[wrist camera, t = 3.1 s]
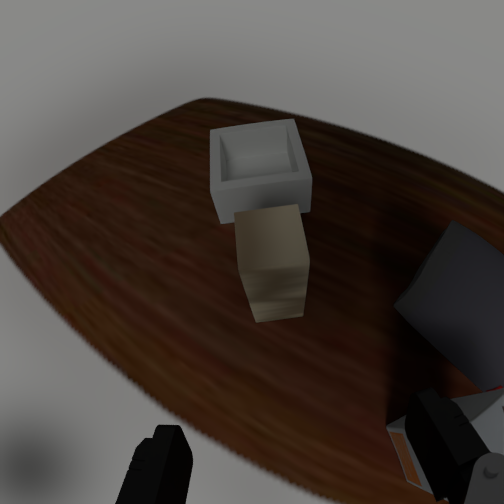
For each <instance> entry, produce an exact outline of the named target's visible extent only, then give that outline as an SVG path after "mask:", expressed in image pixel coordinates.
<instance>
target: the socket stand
mask: <svg viewBox="0 0 504 504" xmlns="http://www.w3.org/2000/svg"><path fill="white" fill-rule="evenodd" d="M210 192H211V195H212V199H213V202H214V205H215V208H216V211H217V214H218V217H219V220H220V223H221V224H224V223H231V222H235V221H234V213H235V212H242V211H249V210H256V209H263V208H271V207H278V206H286V205H294V204H298V207H299V211H300V213H306V212H310V207H311V192H312V175H311V172H310V169H309V165H308V162H307V159H306V155H305V152H304V149H303V146H302V143H301V139H300V136H299V133H298V130H297V127H296V124H295V121H294V119H286V120H277V121H268V122H260V123H253V124H246V125H239V126H232V127H226V128H220V129H214V130H210Z"/></svg>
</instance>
